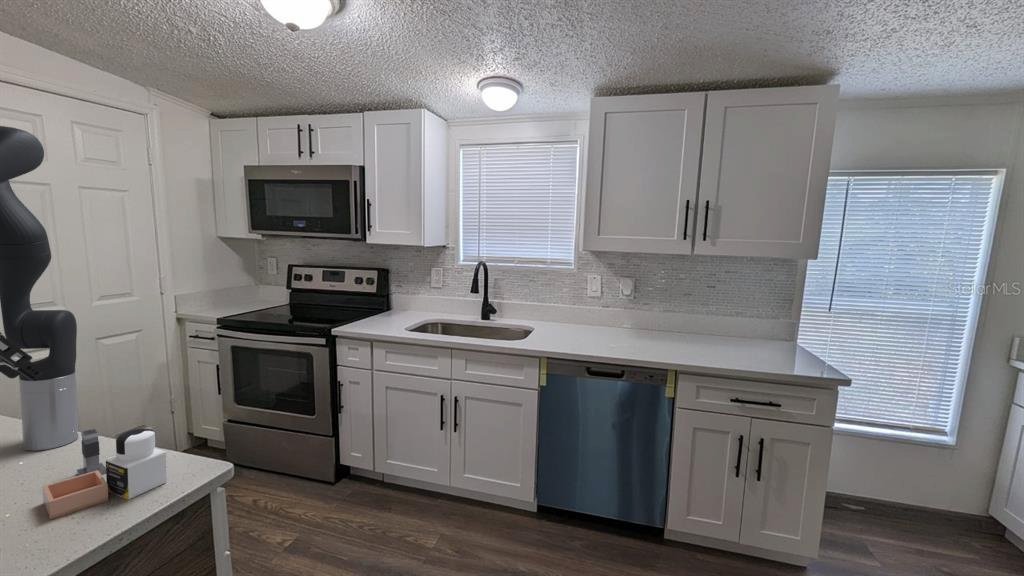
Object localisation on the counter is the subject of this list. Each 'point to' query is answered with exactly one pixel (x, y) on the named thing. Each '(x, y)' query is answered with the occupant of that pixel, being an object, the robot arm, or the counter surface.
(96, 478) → the tray
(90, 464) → the metal pedestal tower
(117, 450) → the medicine bottle
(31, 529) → the counter surface
